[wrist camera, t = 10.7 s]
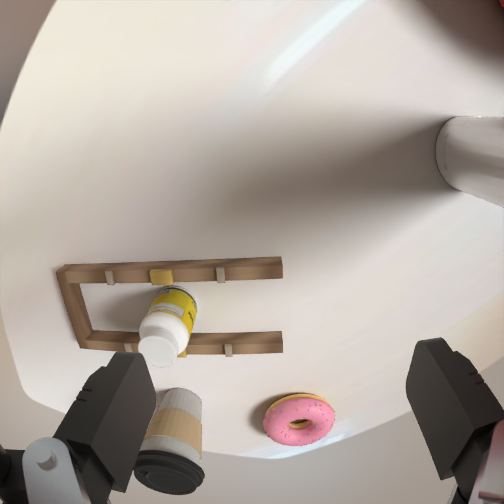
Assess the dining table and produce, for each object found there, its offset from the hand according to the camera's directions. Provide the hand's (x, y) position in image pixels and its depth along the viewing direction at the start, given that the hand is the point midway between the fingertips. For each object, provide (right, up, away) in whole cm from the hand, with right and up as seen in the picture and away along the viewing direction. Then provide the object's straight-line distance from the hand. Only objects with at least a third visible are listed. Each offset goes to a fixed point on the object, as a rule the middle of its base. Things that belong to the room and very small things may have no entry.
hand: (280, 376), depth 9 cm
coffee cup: (-11, -19, +36) cm, 42 cm away
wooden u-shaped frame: (-10, -3, +30) cm, 32 cm away
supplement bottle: (-10, -3, +30) cm, 32 cm away
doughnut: (+6, -21, +37) cm, 43 cm away
